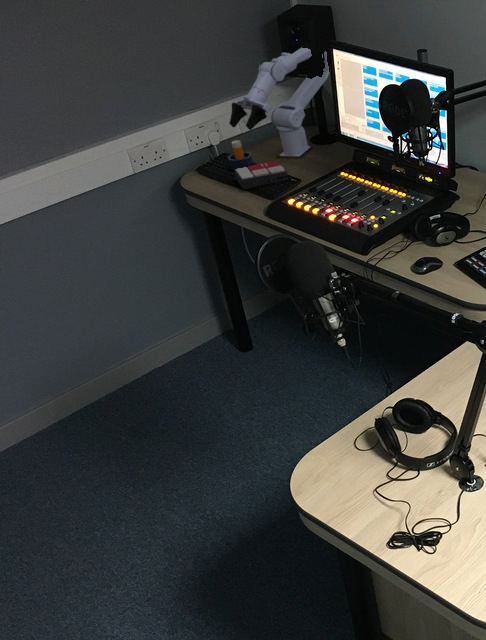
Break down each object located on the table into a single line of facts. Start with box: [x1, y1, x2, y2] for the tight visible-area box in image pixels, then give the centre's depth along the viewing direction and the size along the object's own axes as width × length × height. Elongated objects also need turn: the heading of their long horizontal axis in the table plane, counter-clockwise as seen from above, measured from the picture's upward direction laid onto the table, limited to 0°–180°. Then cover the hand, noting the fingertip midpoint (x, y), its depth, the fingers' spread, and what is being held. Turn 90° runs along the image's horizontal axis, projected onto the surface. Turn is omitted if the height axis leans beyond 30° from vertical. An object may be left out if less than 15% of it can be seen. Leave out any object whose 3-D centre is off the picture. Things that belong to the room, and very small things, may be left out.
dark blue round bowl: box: [227, 151, 255, 171], centre depth 289 cm, size 8×8×4 cm
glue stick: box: [231, 139, 245, 160], centre depth 287 cm, size 3×3×8 cm
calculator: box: [233, 160, 289, 190], centre depth 278 cm, size 11×4×15 cm
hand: (239, 126), depth 274 cm, fingers open, 7 cm apart
